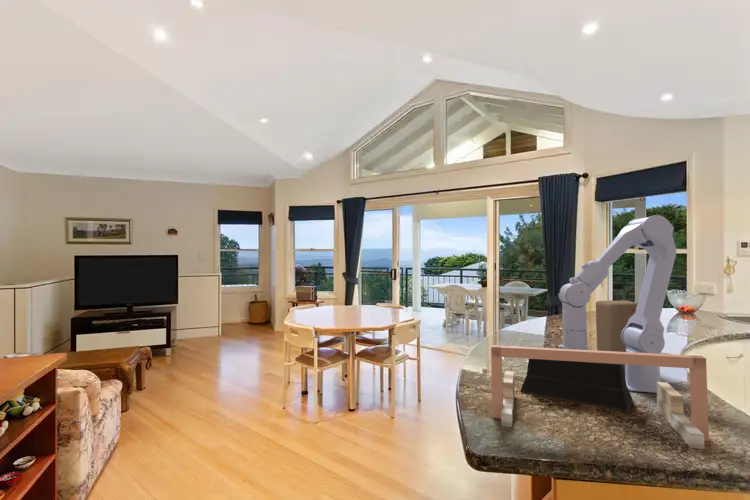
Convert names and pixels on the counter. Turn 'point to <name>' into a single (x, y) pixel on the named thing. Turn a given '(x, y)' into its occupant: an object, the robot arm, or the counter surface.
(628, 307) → the wooden block
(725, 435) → the counter surface
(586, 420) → the counter surface
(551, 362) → the barrier
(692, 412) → the arch
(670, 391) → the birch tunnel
